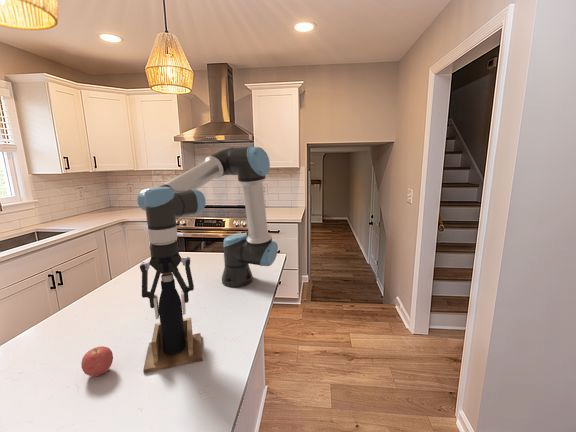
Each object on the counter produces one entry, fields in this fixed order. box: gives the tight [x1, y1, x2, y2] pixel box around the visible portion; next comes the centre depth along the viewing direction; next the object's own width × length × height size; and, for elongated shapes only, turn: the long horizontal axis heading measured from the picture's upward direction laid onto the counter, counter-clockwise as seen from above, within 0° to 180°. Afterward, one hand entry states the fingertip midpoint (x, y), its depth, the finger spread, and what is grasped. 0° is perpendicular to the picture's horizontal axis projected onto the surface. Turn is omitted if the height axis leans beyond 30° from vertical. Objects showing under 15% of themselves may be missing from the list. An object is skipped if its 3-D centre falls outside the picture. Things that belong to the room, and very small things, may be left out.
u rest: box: [142, 317, 203, 374], centre depth 90 cm, size 16×13×8 cm
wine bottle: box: [158, 257, 185, 354], centre depth 87 cm, size 6×6×30 cm
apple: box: [80, 345, 114, 377], centre depth 82 cm, size 7×7×8 cm
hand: (171, 314), depth 87 cm, fingers open, 7 cm apart
